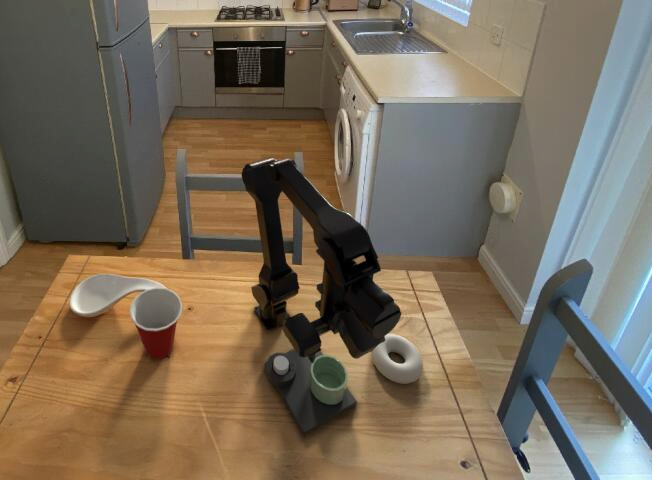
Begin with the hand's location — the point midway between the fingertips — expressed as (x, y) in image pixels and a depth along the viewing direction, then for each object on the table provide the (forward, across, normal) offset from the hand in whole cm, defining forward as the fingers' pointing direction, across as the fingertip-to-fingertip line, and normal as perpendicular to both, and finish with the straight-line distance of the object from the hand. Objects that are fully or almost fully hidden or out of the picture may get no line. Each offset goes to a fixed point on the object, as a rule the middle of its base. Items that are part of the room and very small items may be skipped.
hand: (331, 350), depth 77 cm
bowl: (+11, 0, 0) cm, 11 cm away
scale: (+12, -2, +2) cm, 13 cm away
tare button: (+9, -6, +7) cm, 13 cm away
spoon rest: (+12, -32, +38) cm, 51 cm away
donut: (+12, +16, -2) cm, 21 cm away
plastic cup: (+12, -26, +24) cm, 37 cm away
